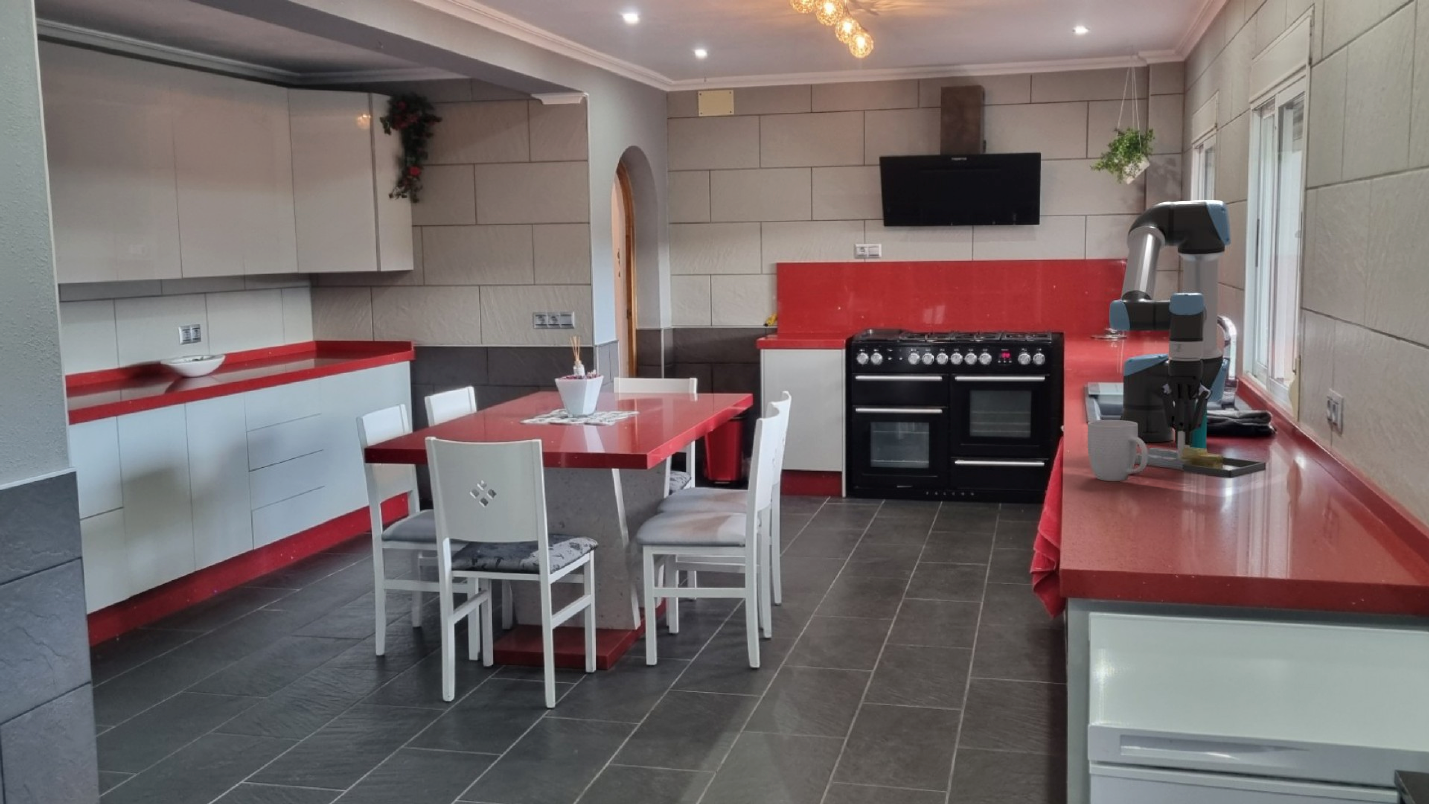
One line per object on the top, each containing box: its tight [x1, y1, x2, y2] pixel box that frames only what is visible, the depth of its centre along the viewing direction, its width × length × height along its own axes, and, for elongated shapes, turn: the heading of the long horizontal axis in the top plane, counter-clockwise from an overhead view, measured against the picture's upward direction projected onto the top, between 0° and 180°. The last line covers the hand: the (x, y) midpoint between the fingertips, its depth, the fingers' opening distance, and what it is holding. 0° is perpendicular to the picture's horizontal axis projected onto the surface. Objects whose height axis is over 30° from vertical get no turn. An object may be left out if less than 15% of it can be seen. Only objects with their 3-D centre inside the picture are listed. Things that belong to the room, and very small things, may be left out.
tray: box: [1182, 456, 1267, 478], centre depth 283 cm, size 15×12×3 cm
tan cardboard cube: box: [1198, 452, 1224, 469], centre depth 286 cm, size 4×4×4 cm
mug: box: [1087, 419, 1148, 482], centre depth 281 cm, size 15×11×13 cm
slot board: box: [1135, 447, 1192, 471], centre depth 294 cm, size 12×16×4 cm
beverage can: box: [1190, 399, 1208, 449], centre depth 303 cm, size 6×6×15 cm
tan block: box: [1182, 447, 1208, 466], centre depth 289 cm, size 4×4×4 cm
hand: (1183, 458), depth 291 cm, fingers closed
